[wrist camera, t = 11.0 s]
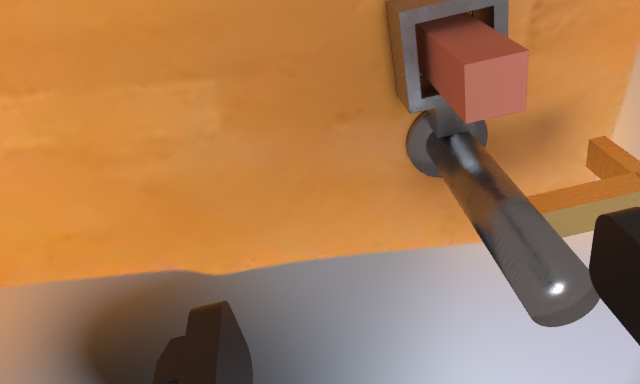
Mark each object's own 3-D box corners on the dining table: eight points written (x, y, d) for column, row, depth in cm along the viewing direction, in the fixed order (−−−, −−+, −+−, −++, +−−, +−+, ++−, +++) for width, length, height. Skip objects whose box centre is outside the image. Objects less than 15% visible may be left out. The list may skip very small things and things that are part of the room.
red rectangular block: (412, 20, 37) (464, 64, 28) (461, 9, 37) (528, 50, 28) (416, 67, 39) (465, 123, 30) (462, 57, 39) (525, 110, 30)
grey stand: (385, 0, 36) (496, 101, 19) (566, -43, 36) (837, 21, 19) (407, 181, 45) (496, 357, 28) (553, 147, 45) (730, 304, 28)
